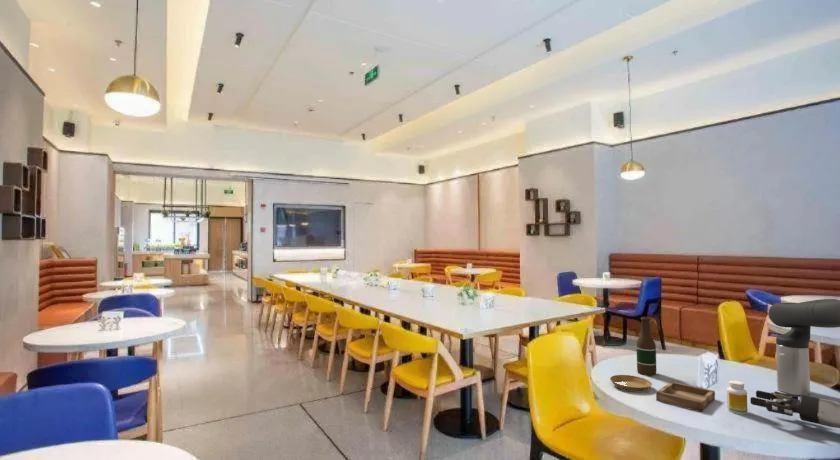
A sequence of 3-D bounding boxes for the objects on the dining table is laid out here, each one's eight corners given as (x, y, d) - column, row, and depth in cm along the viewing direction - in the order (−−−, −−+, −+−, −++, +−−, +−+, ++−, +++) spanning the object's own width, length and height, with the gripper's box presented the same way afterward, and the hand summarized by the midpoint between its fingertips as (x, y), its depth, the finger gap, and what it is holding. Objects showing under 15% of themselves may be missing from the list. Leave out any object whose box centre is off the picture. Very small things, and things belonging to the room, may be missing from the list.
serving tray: (671, 389, 163) (671, 381, 163) (714, 399, 152) (714, 391, 152) (656, 400, 152) (656, 392, 152) (701, 411, 141) (701, 402, 142)
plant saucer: (642, 381, 173) (642, 375, 173) (659, 394, 158) (658, 387, 158) (604, 380, 174) (604, 374, 174) (618, 393, 160) (617, 386, 160)
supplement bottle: (751, 415, 138) (750, 385, 139) (732, 414, 139) (731, 384, 140) (742, 408, 144) (741, 380, 144) (724, 407, 145) (723, 379, 145)
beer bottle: (660, 376, 178) (659, 318, 179) (642, 376, 179) (640, 319, 179) (650, 370, 186) (649, 315, 187) (633, 370, 186) (631, 315, 187)
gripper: (823, 392, 131) (757, 380, 143) (818, 405, 122) (748, 390, 134) (824, 417, 131) (758, 402, 143) (819, 431, 122) (749, 414, 134)
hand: (753, 396), depth 138 cm, fingers open, 8 cm apart
